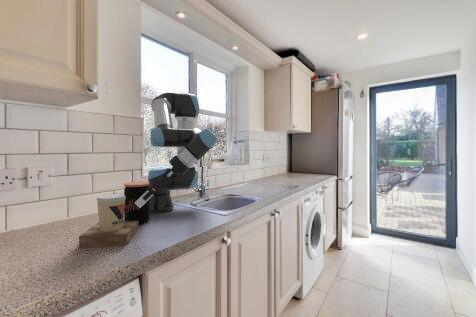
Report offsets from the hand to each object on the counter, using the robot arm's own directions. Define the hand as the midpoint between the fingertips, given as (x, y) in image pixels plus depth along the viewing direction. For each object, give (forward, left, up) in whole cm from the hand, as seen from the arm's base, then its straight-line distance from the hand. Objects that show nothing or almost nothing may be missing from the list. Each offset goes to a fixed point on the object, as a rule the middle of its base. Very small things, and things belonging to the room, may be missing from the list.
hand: (142, 200), depth 86 cm
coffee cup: (-1, -11, -10) cm, 15 cm away
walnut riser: (-1, -11, -14) cm, 18 cm away
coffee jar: (-20, -7, -14) cm, 25 cm away
